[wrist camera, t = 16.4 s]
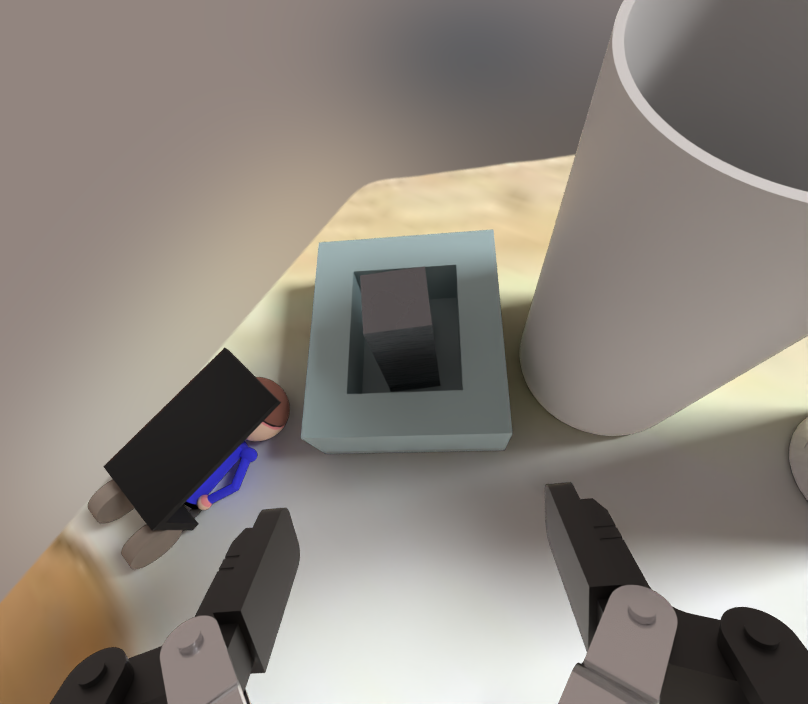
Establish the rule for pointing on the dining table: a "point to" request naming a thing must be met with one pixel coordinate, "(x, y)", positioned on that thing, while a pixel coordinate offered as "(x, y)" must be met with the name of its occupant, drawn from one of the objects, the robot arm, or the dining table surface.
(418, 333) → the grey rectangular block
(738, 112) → the cylinder vase
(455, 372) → the well block
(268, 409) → the figurine character
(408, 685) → the dining table surface
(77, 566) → the dining table surface
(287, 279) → the dining table surface
